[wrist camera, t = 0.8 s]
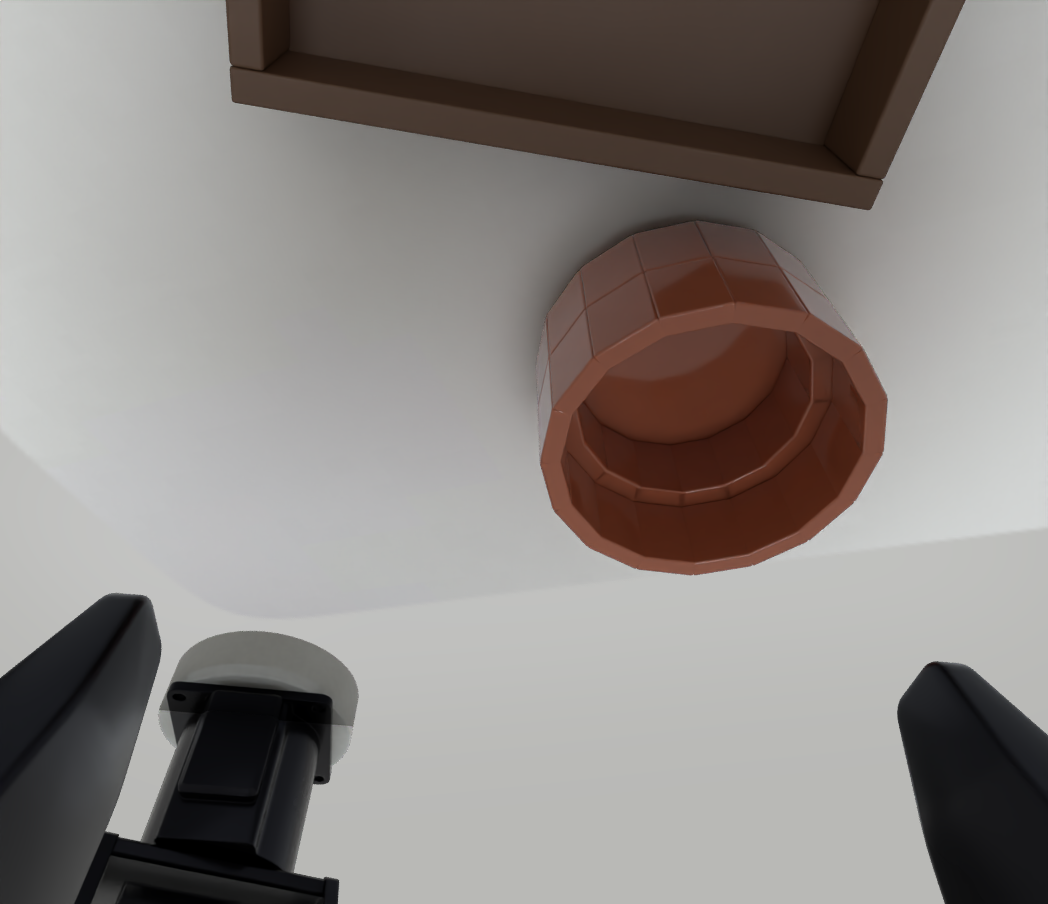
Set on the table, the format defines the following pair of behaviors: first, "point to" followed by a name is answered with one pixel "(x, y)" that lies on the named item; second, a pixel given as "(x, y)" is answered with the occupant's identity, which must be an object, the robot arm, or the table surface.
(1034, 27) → the table surface
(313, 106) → the tray
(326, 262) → the table surface
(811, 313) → the plant pot
